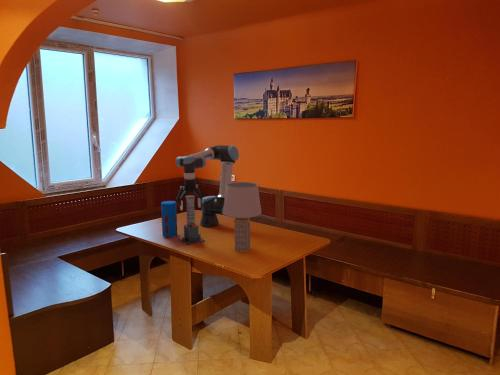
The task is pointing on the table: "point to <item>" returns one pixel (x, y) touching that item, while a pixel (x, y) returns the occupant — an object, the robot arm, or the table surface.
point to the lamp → (242, 210)
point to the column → (190, 210)
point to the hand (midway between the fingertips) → (190, 208)
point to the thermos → (169, 219)
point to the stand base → (191, 235)
